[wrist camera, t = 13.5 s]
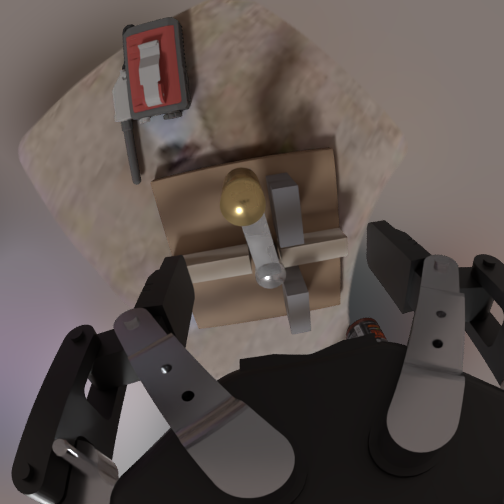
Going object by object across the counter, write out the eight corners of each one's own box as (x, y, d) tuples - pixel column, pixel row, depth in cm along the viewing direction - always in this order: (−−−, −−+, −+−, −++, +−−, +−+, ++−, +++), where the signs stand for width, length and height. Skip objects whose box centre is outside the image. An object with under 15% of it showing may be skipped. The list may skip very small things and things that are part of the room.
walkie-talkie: (113, 34, 23) (133, 183, 32) (98, 26, 19) (120, 193, 28) (183, 15, 23) (202, 171, 32) (176, 2, 19) (197, 178, 28)
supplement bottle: (382, 319, 44) (410, 366, 34) (364, 343, 46) (386, 391, 36) (357, 312, 42) (383, 363, 32) (338, 338, 45) (358, 390, 35)
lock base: (337, 298, 41) (353, 332, 34) (199, 322, 41) (194, 359, 35) (329, 147, 31) (353, 157, 24) (154, 179, 31) (132, 197, 25)
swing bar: (287, 277, 31) (299, 320, 25) (259, 285, 31) (265, 329, 25) (252, 160, 25) (258, 176, 19) (219, 171, 25) (213, 190, 19)
